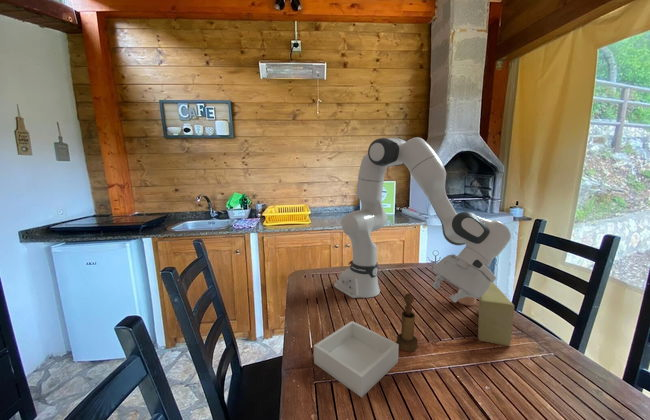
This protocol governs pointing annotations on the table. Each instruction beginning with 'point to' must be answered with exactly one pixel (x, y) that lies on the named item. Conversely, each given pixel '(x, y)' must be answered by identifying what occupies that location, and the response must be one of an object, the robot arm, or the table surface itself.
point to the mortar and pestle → (407, 327)
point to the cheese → (495, 317)
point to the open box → (356, 357)
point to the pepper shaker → (467, 300)
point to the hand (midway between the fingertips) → (442, 293)
